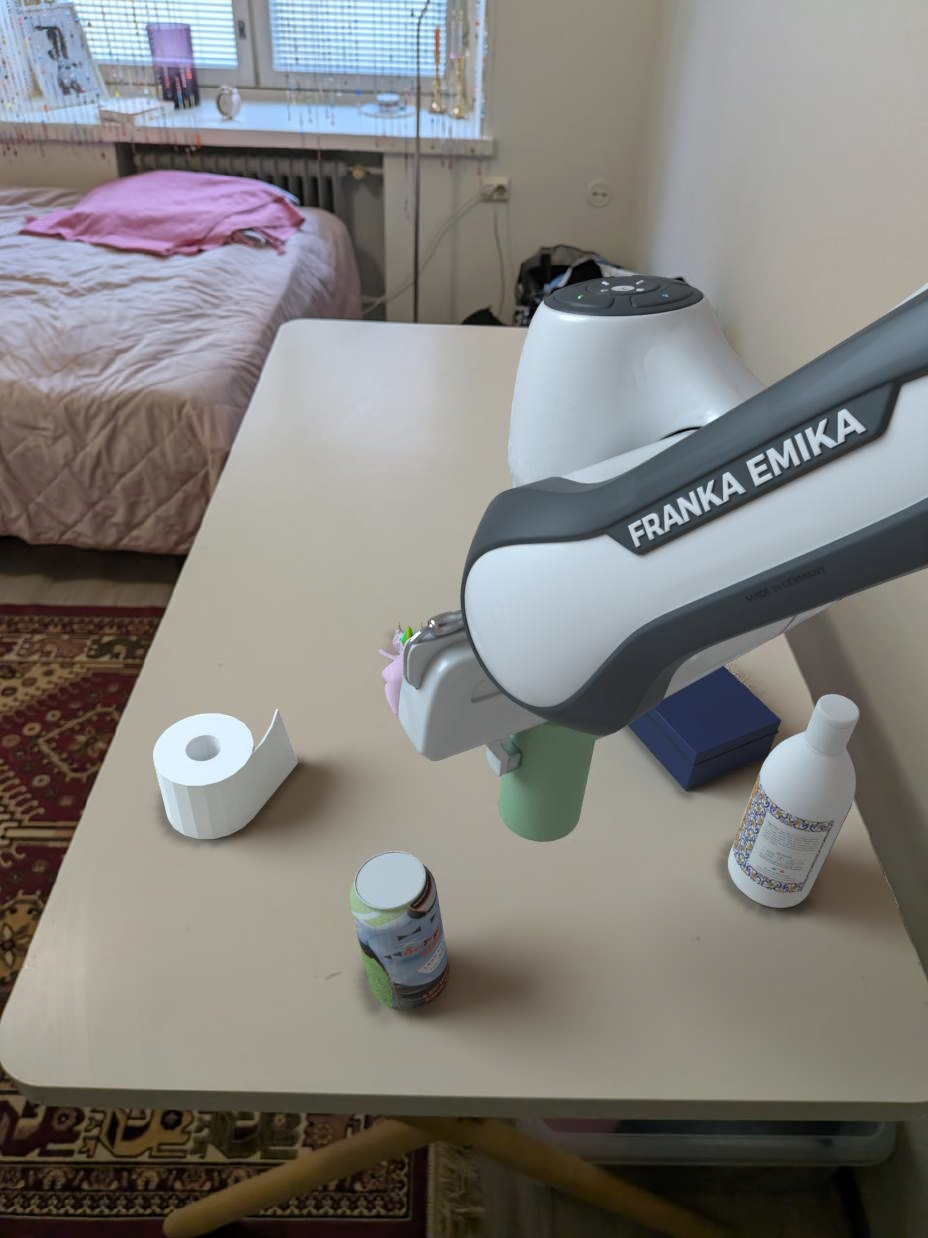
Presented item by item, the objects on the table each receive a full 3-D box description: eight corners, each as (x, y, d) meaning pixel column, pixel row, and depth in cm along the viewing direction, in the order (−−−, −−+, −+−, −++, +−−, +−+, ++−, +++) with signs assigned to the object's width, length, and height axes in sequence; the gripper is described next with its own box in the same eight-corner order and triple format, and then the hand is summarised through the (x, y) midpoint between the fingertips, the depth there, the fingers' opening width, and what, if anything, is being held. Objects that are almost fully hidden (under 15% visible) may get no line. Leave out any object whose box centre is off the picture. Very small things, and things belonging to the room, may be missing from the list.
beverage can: (429, 1032, 67) (432, 940, 59) (338, 994, 68) (330, 900, 61) (461, 958, 71) (469, 864, 63) (375, 924, 73) (372, 829, 65)
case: (772, 755, 89) (786, 719, 86) (685, 792, 85) (696, 755, 82) (681, 665, 98) (690, 629, 95) (599, 694, 94) (606, 658, 91)
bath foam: (761, 828, 82) (827, 661, 69) (826, 883, 78) (910, 716, 65) (709, 866, 79) (768, 698, 66) (774, 926, 75) (851, 758, 62)
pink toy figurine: (381, 645, 101) (371, 728, 88) (381, 597, 98) (371, 676, 85) (438, 647, 101) (437, 730, 88) (440, 599, 98) (439, 678, 85)
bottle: (595, 824, 62) (634, 652, 53) (524, 854, 60) (550, 680, 50) (552, 767, 66) (580, 596, 56) (483, 793, 64) (500, 620, 54)
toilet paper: (297, 763, 86) (292, 709, 81) (224, 853, 78) (214, 799, 73) (224, 733, 88) (215, 680, 84) (146, 818, 80) (131, 764, 76)
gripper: (431, 666, 44) (425, 842, 53) (756, 563, 52) (704, 732, 61) (378, 591, 49) (381, 767, 57) (687, 507, 56) (647, 673, 65)
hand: (549, 748), depth 59 cm, fingers closed on bottle, 5 cm apart
